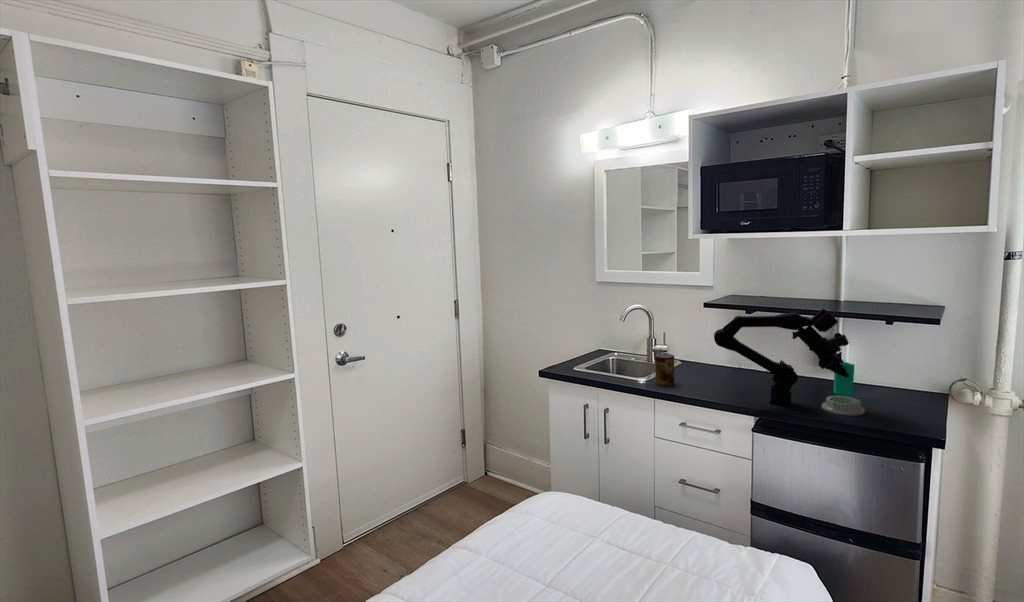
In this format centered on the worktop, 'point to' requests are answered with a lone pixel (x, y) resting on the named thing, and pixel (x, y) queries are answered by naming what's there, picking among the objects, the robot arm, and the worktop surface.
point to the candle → (844, 380)
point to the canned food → (664, 369)
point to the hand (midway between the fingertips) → (848, 375)
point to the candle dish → (843, 406)
